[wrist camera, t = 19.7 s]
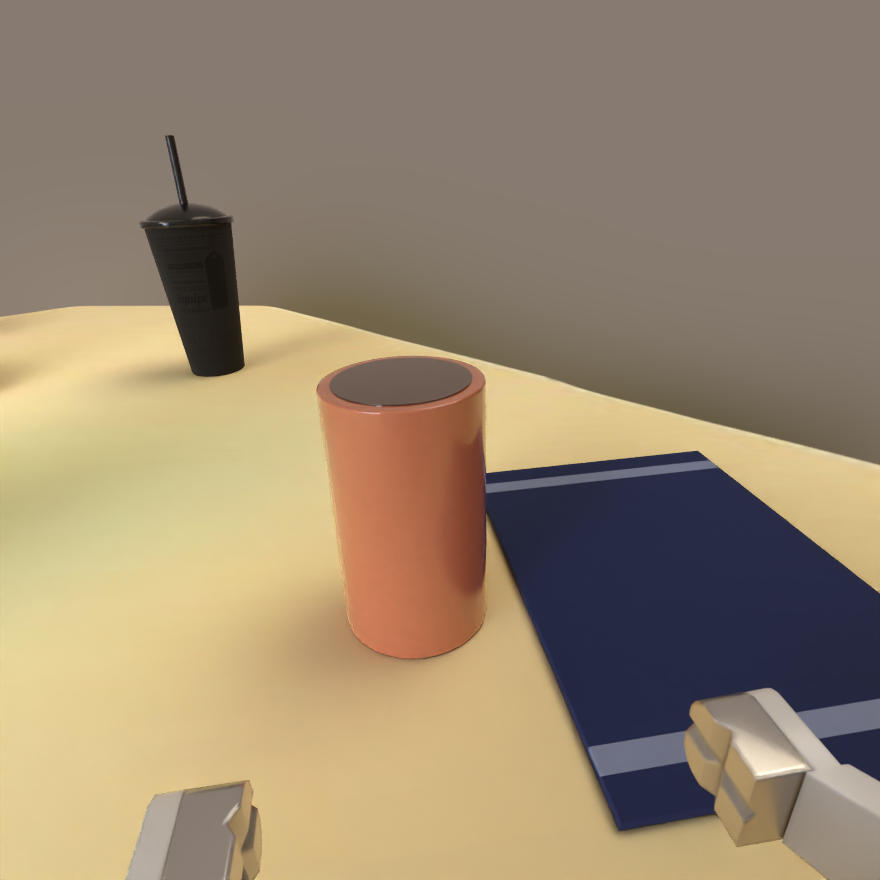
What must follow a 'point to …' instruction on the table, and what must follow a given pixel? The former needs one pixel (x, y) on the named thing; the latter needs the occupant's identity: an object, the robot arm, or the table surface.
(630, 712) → the cloth
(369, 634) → the tumbler
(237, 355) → the drinking cup
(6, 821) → the table surface
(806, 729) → the robot arm
